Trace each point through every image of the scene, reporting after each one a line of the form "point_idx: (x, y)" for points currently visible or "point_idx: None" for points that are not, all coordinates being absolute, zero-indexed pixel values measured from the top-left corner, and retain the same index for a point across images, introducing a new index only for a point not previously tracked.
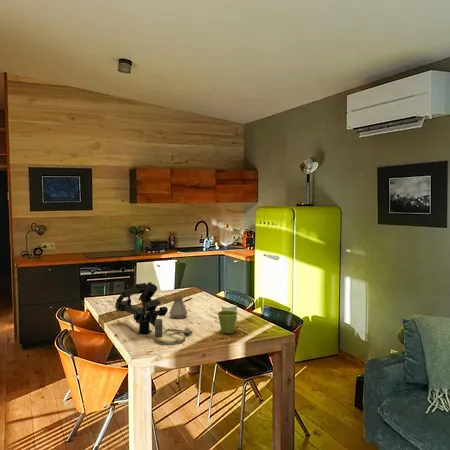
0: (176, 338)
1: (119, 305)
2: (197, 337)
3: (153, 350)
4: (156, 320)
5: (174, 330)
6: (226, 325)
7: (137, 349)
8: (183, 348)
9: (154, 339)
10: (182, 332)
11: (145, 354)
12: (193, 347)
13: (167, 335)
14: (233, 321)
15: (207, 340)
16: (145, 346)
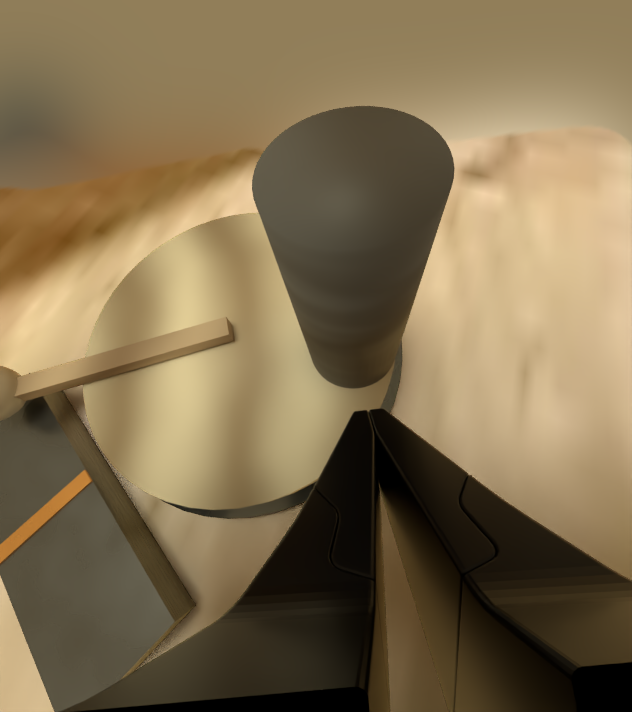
0: (226, 231)
1: None
2: (31, 328)
3: (455, 181)
4: (416, 139)
5: (63, 566)
6: None
7: (587, 233)
8: (251, 163)
9: (392, 384)
10: (53, 431)
11: (526, 134)
12: (191, 162)
13: (255, 338)
14: None
15: (34, 243)
16: (506, 276)
